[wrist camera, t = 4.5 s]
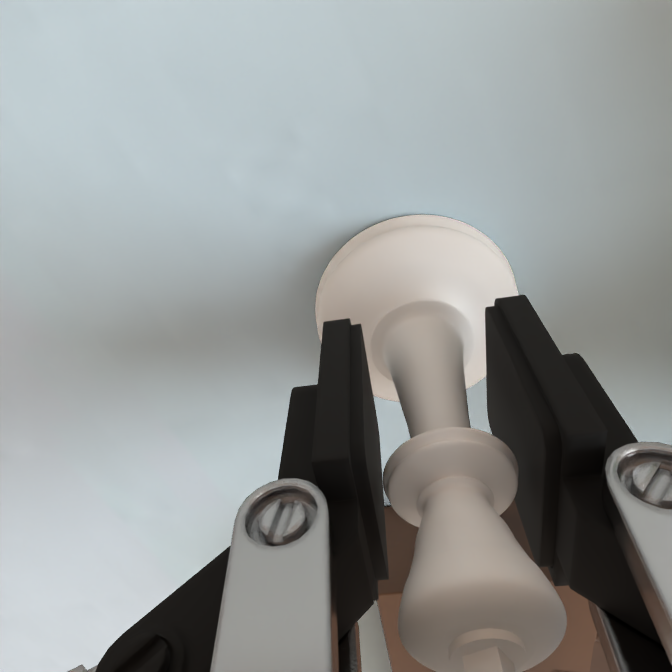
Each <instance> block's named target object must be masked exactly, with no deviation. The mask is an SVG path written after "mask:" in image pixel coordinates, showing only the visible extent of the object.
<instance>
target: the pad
mask: <svg viewBox="0 0 672 672" xmlns="http://www.w3.org/2000/svg"><path fill="white" fill-rule="evenodd" d="M384 512H385V527H386V542H387V557H388V572H389V580H378V596H379V600H377V604H378V608H379V613H380V618H381V622H382V627H383V632H384V636H385V641H386V645H387V650H388V655H389V659H390V664H391V669H392V672H436V671H433V670H431V669H429V668H427V667H426V666H424V665H422V664H421V663H419V662H418V661H417V660H416V659H414V658H413V657H412V656H411V655H410V654H409V653H408V652H407V650H406V649H405V647H404V646H403V644H402V642H401V640H400V637H399V632H398V614H399V608H400V603H401V598H402V594H403V590H404V586H405V583H406V580H407V578H408V576H409V573H410V569H411V565H412V561H413V557H414V550H415V541H416V537H417V533H418V530H419V527H417V526H414V525H412V524H410V523H408V522H407V521H405V520H404V519H403V518H401V517H400V516H399V515H398V514H397V513H396V512H395V510H394V509H393V507H392V506H391V507H384ZM500 517H501V518H502V519H503V520H504V521H505V523H506V524H507V525H508V527H509V528H510V530H511V532H512V533H513V535H514V537H515V539H516V540H517V542H518V543H519V544H520V546H521V547H522V548H523V550H524V551H525V552H526V554H527V555H528V556H529V558H530V559H531V560H532V561H533V562H534V563H535V560H534V558H533V555H532V552H531V549H530V546H529V543H528V539H527V536H526V533H525V530H524V527H523V524H522V521H521V518H520V515H519V512H518V509H517V506H516V503H515V500H513V501H512V503H511V504H510V506H509V507H508V508H507V509H506V510H505V511H504V512H503V513H502V514H501V515H500ZM535 564H536V563H535ZM539 568H540V569H541V571H542V572H543V573H544V575H545V576H546V578H547V579H548V580H549V582H550V583H551V585H552V586H553V587H554V589H555V590H556V592H557V594H558V595H559V597H560V599H561V601H562V603H563V605H564V608H565V611H566V616H567V627H566V631H565V635H564V637H563V639H562V641H561V643H560V644H559V646H558V647H557V648H556V649H555V651H554V652H553V653H552V654H551V655H550V656H549V657H547V658H546V659H545V660H544V661H542V662H541V663H539V664H537V665H536V666H534V667H532V668H530V669H528V670H525V671H523V672H610V670H609V667H608V664H607V661H606V658H605V655H604V652H603V649H602V646H601V643H600V640H599V637H598V634H597V631H596V628H595V625H594V622H593V619H592V616H591V613H590V610H589V604H588V599H586V598H584V597H583V596H581V595H580V594H578V593H576V592H575V591H573V590H571V589H570V587H569V585H567V586H554V583H553V580H552V578H551V575H550V572H549V569H548V567H539Z"/></svg>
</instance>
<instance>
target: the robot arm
mask: <svg viewBox="0 0 672 672" xmlns="http://www.w3.org/2000/svg"><path fill="white" fill-rule="evenodd" d="M485 336H486V377H487V412H488V420H489V424H490V428H491V431H492V434H493V436H495V437H497V438H498V439H500V440H501V441H503V442H504V443H505V444H506V445H507V446H508V447H509V448H510V449H511V451H512V452H513V454H514V456H515V458H516V460H517V463H518V469H519V475H518V489H517V493H516V495H515V498H514V500H515V503H516V506H517V509H518V512H519V515H520V518H521V521H522V524H523V527H524V530H525V533H526V536H527V539H528V543H529V546H530V549H531V552H532V555H533V558H534V560H535V563H536V565H537V566H538V567H548V569H549V572H550V575H551V578H552V580H553V583H554V586H567V585H569V587H570V589H571V590H573V591H575V592H576V593H578V594H580V595H581V596H583V597H584V598H586V599H588V604H589V610H590V613H591V616H592V619H593V622H594V625H595V628H596V631H597V634H598V637H599V640H600V643H601V646H602V649H603V652H604V655H605V658H606V661H607V664H608V667H609V670H610V672H672V445H667V444H663V443H658V442H638V441H637V439H636V438H635V436H634V435H633V433H632V432H631V430H630V429H629V427H628V426H627V424H626V423H625V421H624V420H623V418H622V417H621V415H620V414H619V412H618V411H617V409H616V408H615V406H614V404H613V403H612V401H611V400H610V398H609V397H608V395H607V394H606V392H605V391H604V389H603V388H602V386H601V385H600V383H599V382H598V380H597V379H596V377H595V376H594V374H593V373H592V371H591V370H590V368H589V367H588V365H587V364H586V362H585V361H584V359H583V358H582V357H581V356H580V355H579V354H577V353H573V354H565V355H561V353H560V351H559V350H558V348H557V346H556V345H555V343H554V341H553V340H552V338H551V336H550V335H549V333H548V332H547V330H546V328H545V327H544V325H543V323H542V322H541V320H540V318H539V317H538V315H537V313H536V312H535V310H534V308H533V307H532V305H531V303H530V302H529V300H528V299H527V297H526V296H525V295H518V296H511V297H503V298H496V299H495V302H494V306H490V307H486V308H485ZM378 580H389V572H388V557H387V542H386V527H385V512H384V497H383V483H382V468H381V453H380V439H379V429H378V422H377V416H376V410H375V404H374V398H373V392H372V386H371V380H370V374H369V368H368V362H367V356H366V350H365V344H364V338H363V332H362V326H361V324H354V325H351V320H350V318H347V319H340V320H332V321H325V322H323V331H322V343H321V354H320V366H319V378H318V385H310V386H301V387H294V388H293V389H292V392H291V397H290V404H289V410H288V417H287V423H286V430H285V436H284V443H283V449H282V456H281V463H280V469H279V476H278V480H277V481H273V482H270V483H268V484H266V485H264V486H262V487H260V488H258V489H257V490H255V491H254V492H253V493H252V494H251V495H249V496H248V497H247V498H246V499H245V501H244V502H243V504H242V505H241V506H240V508H239V510H238V513H237V516H236V518H235V522H234V528H233V535H232V541H231V546H229V547H228V548H227V549H226V550H225V551H223V552H222V553H221V554H220V555H218V556H217V557H216V558H215V559H214V560H212V561H211V562H210V563H209V564H207V565H206V566H205V567H204V568H203V569H201V570H200V571H199V572H198V573H197V574H195V575H194V576H193V577H192V578H190V579H189V580H188V581H187V582H186V583H184V584H183V585H182V586H181V587H179V588H178V589H177V590H176V591H175V592H173V593H172V594H171V595H170V596H169V597H167V598H166V599H165V600H164V601H162V602H161V603H160V604H159V605H158V606H156V607H155V608H154V609H153V610H151V611H150V612H149V613H148V614H147V615H145V616H144V617H143V618H142V619H140V620H139V621H138V622H137V623H136V624H134V625H133V626H132V627H131V628H130V629H128V630H127V631H126V632H125V633H123V634H122V635H121V636H120V637H119V638H118V639H117V640H116V641H115V642H114V643H113V644H112V645H111V646H110V647H109V649H108V650H107V652H106V653H105V655H104V656H103V658H102V659H101V661H100V662H99V664H98V665H97V666H95V667H93V668H91V669H89V670H86V669H85V667H84V666H83V665H80V666H78V667H76V668H74V669H72V670H70V671H68V672H362V670H361V655H360V640H359V627H358V622H357V621H358V620H359V619H360V618H361V617H362V616H363V614H364V613H365V612H366V611H367V610H368V609H369V608H370V607H371V606H372V605H373V604H374V601H373V600H379V596H378Z"/></svg>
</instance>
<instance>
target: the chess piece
mask: <svg viewBox="0 0 672 672" xmlns="http://www.w3.org/2000/svg"><path fill="white" fill-rule="evenodd" d="M511 296H518V290H517V287H516V282H515V278H514V275H513V272H512V269H511V267H510V264H509V262H508V261H507V259H506V257H505V256H504V254H503V253H502V251H501V250H500V249H499V247H498V246H497V245H496V244H495V243H494V242H493V241H492V240H491V239H490V238H488V237H487V236H486V235H485V234H483V233H482V232H480V231H479V230H477V229H476V228H474V227H472V226H470V225H468V224H466V223H463V222H461V221H458V220H455V219H452V218H448V217H443V216H436V215H409V216H402V217H397V218H393V219H389V220H386V221H383V222H380V223H378V224H376V225H373V226H371V227H369V228H367V229H366V230H364V231H362V232H361V233H359V234H358V235H356V236H355V237H353V238H352V239H351V240H349V241H348V242H347V243H346V244H345V245H344V246H343V247H342V248H341V249H340V250H339V251H338V252H337V253H336V254H335V256H334V257H333V258H332V260H331V261H330V263H329V264H328V266H327V267H326V269H325V271H324V273H323V275H322V278H321V280H320V283H319V286H318V290H317V294H316V302H315V316H316V323H317V327H318V334H319V339H320V342H321V343H322V331H323V322H325V321H332V320H340V319H347V318H350V320H351V325H354V324H361V326H362V332H363V338H364V344H365V350H366V356H367V362H368V368H369V374H370V380H371V386H372V392H373V396H376V397H379V398H382V399H386V400H391V401H397V402H400V403H401V406H402V410H403V413H404V416H405V419H406V422H407V425H408V429H409V433H410V437H411V439H409V440H408V441H406V442H405V443H403V444H402V445H401V446H400V447H399V448H398V449H396V451H395V452H394V453H393V454H392V455H391V457H390V458H389V460H388V461H387V463H386V466H385V468H384V472H383V487H384V491H385V493H386V495H387V497H388V499H389V501H390V504H391V506H392V507H393V509H394V510H395V512H396V513H397V514H398V515H399V516H400V517H401V518H403V519H404V520H405V521H407V522H408V523H410V524H412V525H414V526H417V527H419V530H418V533H417V537H416V541H415V550H414V557H413V561H412V565H411V569H410V573H409V576H408V578H407V580H406V583H405V586H404V590H403V594H402V598H401V603H400V608H399V614H398V632H399V637H400V640H401V642H402V644H403V646H404V647H405V649H406V650H407V652H408V653H409V654H410V655H411V656H412V657H413V658H414V659H416V660H417V661H418V662H419V663H421V664H422V665H424V666H426V667H427V668H429V669H431V670H433V671H436V672H523V671H525V670H528V669H530V668H532V667H534V666H536V665H537V664H539V663H541V662H542V661H544V660H545V659H546V658H547V657H549V656H550V655H551V654H552V653H553V652H554V651H555V649H556V648H557V647H558V646H559V644H560V643H561V641H562V639H563V637H564V635H565V631H566V627H567V616H566V611H565V608H564V605H563V603H562V601H561V599H560V597H559V595H558V594H557V592H556V590H555V589H554V587H553V586H552V585H551V583H550V582H549V580H548V579H547V578H546V576H545V575H544V573H543V572H542V571H541V569H540V568H539V567H538V566H537V565H536V564H535V563H534V562H533V561H532V560H531V559H530V558H529V556H528V555H527V554H526V552H525V551H524V550H523V548H522V547H521V546H520V544H519V543H518V542H517V540H516V539H515V537H514V535H513V533H512V532H511V530H510V528H509V527H508V525H507V524H506V523H505V521H504V520H503V519H502V518H501V517H500V515H501V514H502V513H503V512H504V511H505V510H506V509H507V508H508V507H509V506H510V504H511V503H512V501H513V500H514V498H515V495H516V493H517V489H518V475H519V469H518V463H517V460H516V458H515V456H514V454H513V452H512V451H511V449H510V448H509V447H508V446H507V445H506V444H505V443H504V442H503V441H501V440H500V439H498V438H497V437H495V436H493V435H491V434H489V433H487V432H484V431H481V430H477V429H473V428H471V427H470V421H469V415H468V405H467V396H466V389H468V388H470V387H471V386H473V385H475V384H476V383H478V382H479V381H481V380H482V379H483V378H484V377H486V336H485V308H486V307H490V306H494V302H495V299H496V298H503V297H511Z"/></svg>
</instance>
